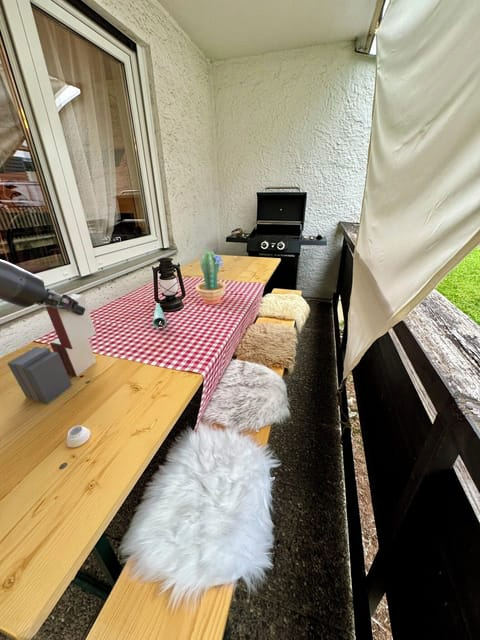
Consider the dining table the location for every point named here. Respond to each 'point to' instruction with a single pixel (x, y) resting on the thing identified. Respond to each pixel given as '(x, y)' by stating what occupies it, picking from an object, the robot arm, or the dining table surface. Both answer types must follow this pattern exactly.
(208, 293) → the potted cactus
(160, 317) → the long green cone
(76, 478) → the dining table surface
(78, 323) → the ivory book
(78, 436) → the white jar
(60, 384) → the grey books
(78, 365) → the ivory books
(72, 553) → the dining table surface
